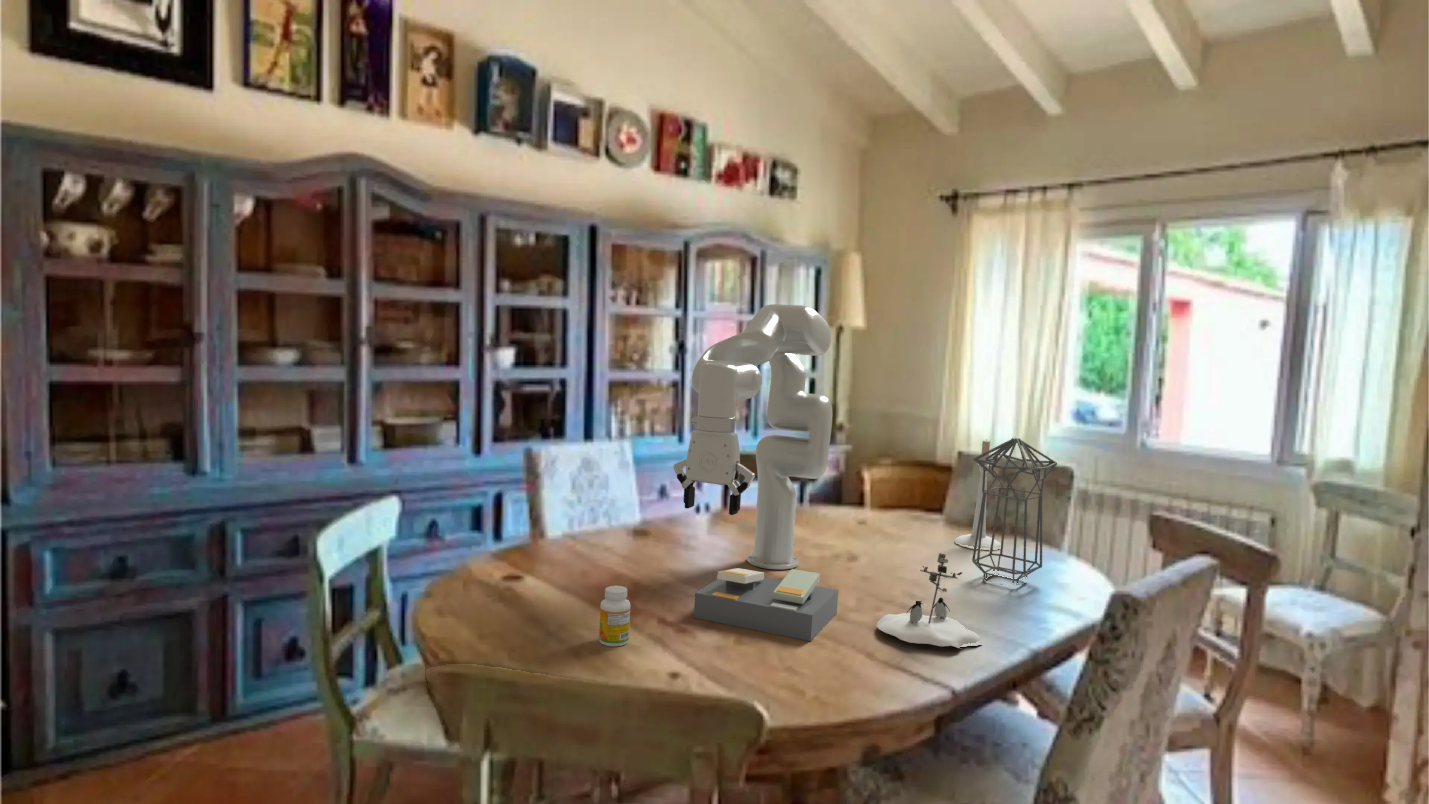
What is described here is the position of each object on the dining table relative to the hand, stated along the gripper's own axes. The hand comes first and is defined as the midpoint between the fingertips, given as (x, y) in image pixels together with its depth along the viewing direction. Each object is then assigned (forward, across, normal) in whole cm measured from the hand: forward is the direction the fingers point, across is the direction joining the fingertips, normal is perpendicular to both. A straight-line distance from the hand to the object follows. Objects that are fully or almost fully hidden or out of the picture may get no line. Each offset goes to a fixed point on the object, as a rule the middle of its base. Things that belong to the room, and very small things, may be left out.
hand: (711, 510), depth 169 cm
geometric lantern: (+20, +52, +58) cm, 81 cm away
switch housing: (+21, +11, +5) cm, 24 cm away
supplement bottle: (+21, -7, -23) cm, 32 cm away
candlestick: (+20, +42, +93) cm, 104 cm away
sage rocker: (+14, +17, +5) cm, 23 cm away
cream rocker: (+14, +5, +5) cm, 16 cm away
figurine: (+21, +42, +11) cm, 49 cm away
